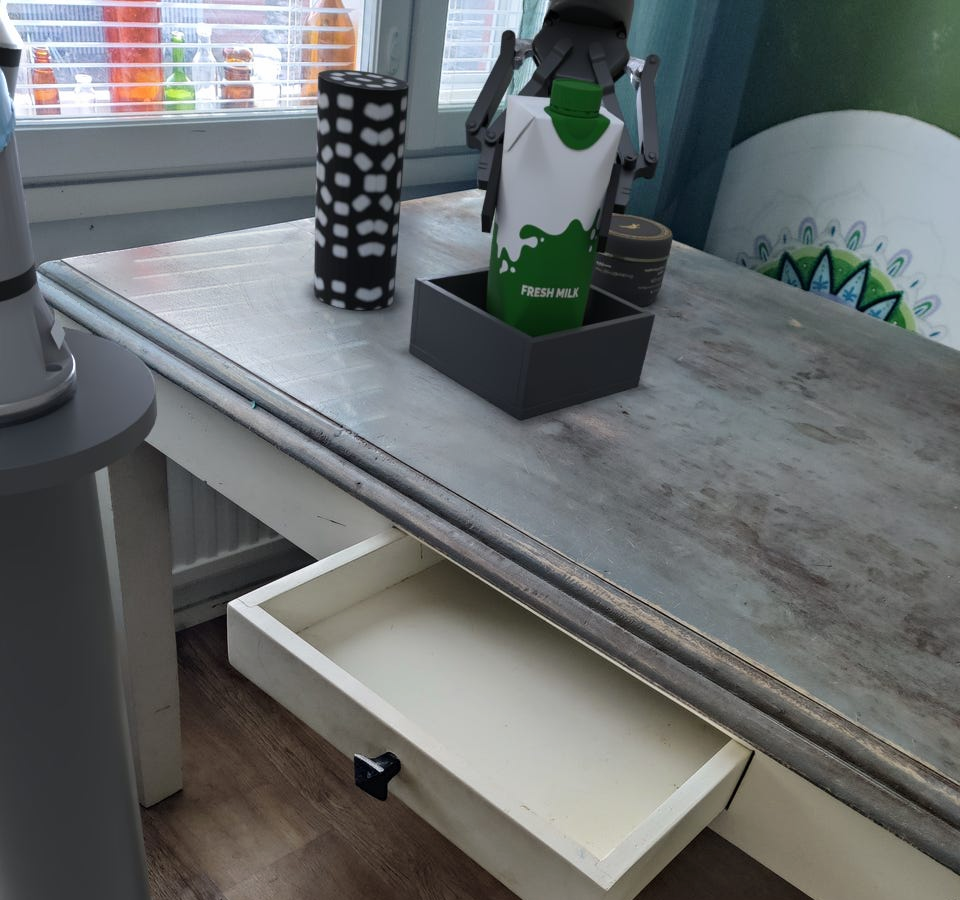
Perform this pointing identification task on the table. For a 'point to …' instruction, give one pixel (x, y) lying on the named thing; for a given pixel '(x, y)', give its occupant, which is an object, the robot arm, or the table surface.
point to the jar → (633, 259)
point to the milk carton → (550, 206)
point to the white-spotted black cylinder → (358, 187)
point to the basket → (526, 346)
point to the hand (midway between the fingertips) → (543, 234)
